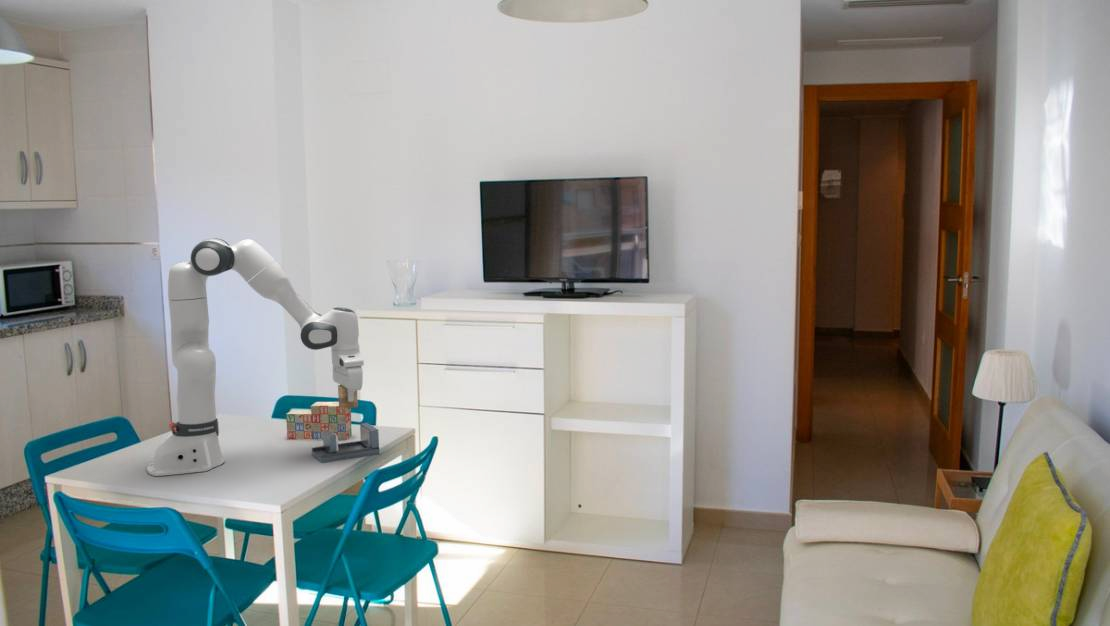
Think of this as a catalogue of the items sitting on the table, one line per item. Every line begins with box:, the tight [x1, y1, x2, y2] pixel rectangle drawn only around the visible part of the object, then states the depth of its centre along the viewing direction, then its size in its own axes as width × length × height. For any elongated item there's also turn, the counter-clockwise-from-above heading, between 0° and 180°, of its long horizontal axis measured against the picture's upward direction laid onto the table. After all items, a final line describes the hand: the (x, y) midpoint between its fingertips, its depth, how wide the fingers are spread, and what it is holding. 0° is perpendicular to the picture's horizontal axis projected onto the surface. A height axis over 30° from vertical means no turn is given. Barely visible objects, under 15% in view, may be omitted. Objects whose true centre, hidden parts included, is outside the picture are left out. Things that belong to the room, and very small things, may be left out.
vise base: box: [311, 422, 380, 463], centre depth 296 cm, size 19×11×8 cm, turn 120°
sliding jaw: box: [322, 430, 339, 453], centre depth 293 cm, size 2×8×6 cm, turn 30°
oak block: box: [337, 384, 359, 409], centre depth 295 cm, size 5×4×7 cm
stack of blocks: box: [285, 401, 353, 441], centre depth 318 cm, size 21×6×12 cm, turn 85°
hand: (347, 399), depth 295 cm, fingers closed on oak block, 4 cm apart
